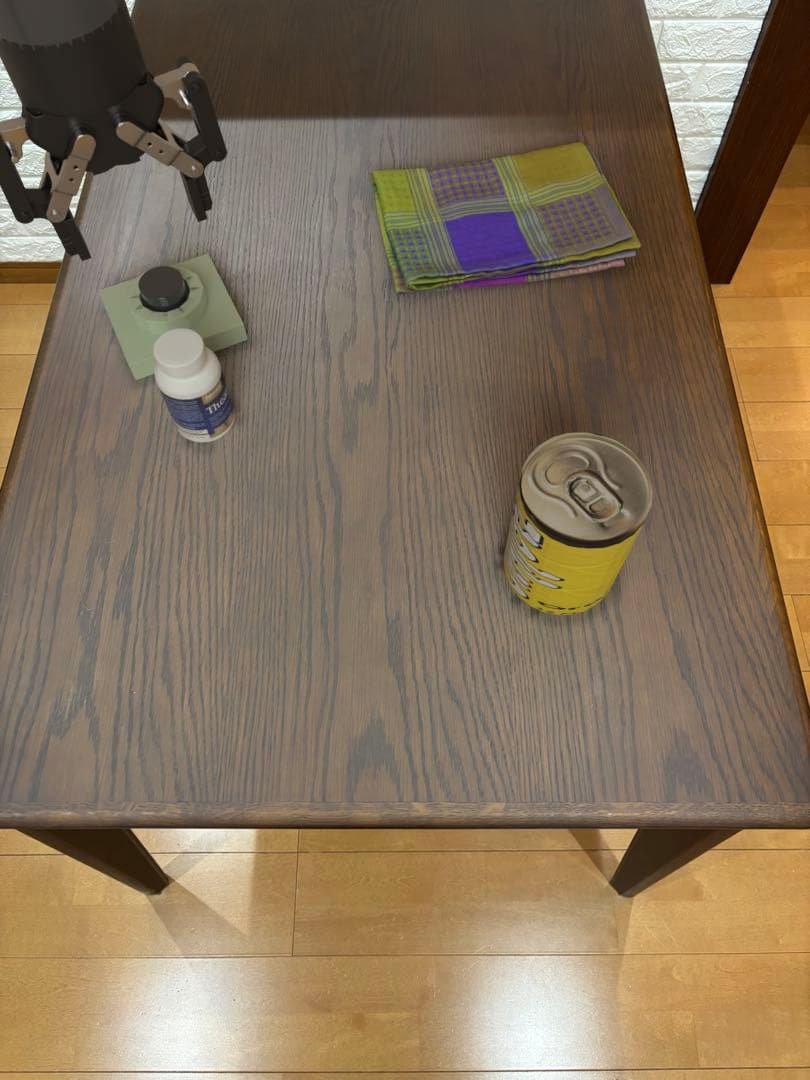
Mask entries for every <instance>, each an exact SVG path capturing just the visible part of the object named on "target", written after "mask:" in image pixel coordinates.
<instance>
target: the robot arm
mask: <svg viewBox="0 0 810 1080" xmlns="http://www.w3.org/2000/svg"><path fill="white" fill-rule="evenodd" d="M0 61H1V63H2V64H3V67H4V68H5V71H6V73H7V75H8V77H9V80H10V82H11V84H12V86H13V88H14V90H15V92H16V94H17V97H18V99H19V100H20V103H21V115H20V116H18V117H13V118H10V119H5V120H1V121H0V189H1V191H2V192H3V195H4V197H5V199H6V202H7V203H8V206H9V208H10V210H11V212H12V214H13V217H14V219H15V220H16V221H17V222H18V223H19V224H23V225H28V224H30V223H32V222H33V221H34V220H35V219H44V220H46V221H48V222H50V224H51V225H52V227H53V229H54V231H55V232H56V235H57V237H58V239H59V240H60V242H61V245H62V247H63V249H64V251H65V253H67V254H68V255H69V256H70V257H74V256H77V255H78V257H79V258H80V261H81V262H84V261H87V260H90V259H92V255H91V253H90V250H89V247H88V245H87V243H86V240H85V238H84V236H83V234H82V232H81V229H80V227H79V225H78V223H77V221H76V219H75V217H74V215H73V212H72V211H71V208H70V205H71V203H72V200H73V198H74V197H77V195H78V193H79V190H80V187H81V185H82V182H83V179H84V176H85V174H86V173H92V175H93V177H94V176H98V175H102V174H103V173H104V174H105V173H106V172H108V171H110V170H111V169H114V168H115V167H117V166H129V165H132V164H136V163H139V162H141V158H140V157H142V156H143V155H144V154H147V155H148V156H150V157H152V158H153V159H155V160H157V161H158V162H160V163H161V164H164V165H165V166H166V167H170V166H171V167H173V168H175V169H176V170H178V171H179V175H180V179H181V181H182V185H183V188H184V191H185V194H186V197H187V200H188V203H189V206H190V209H191V210H192V212H193V215H194V217H195V218H196V219H195V220H197V223H201V222H203V221H206V220H208V215H207V212H208V211H211V210H212V208H213V200H212V196H211V193H210V188H209V185H208V182H207V177H206V175H205V174H206V173H205V171H206V169H207V167H208V166H209V164H211V163H212V162H215V163H220V162H223V161H224V160H225V159H226V157H227V155H228V150H227V146H226V143H225V140H224V136H223V133H222V131H221V127H220V124H219V121H218V118H217V115H216V112H215V108H214V104H213V103H212V99H211V96H210V93H209V90H208V86H207V84H206V81H205V80H204V77H203V76H202V74H201V72H200V70H199V69H198V67H197V65H196V63H195V62H194V60H193V59H192V57H190V56H188V55H181V56H179V57H178V58H177V59H176V60H175V64H174V65H175V66H174V68H175V69H172V70H170V71H167V72H165V73H161V74H158V75H156V76H154V75H153V74H152V73H151V72H150V71H149V70H148V69H147V65H146V62H145V59H144V56H143V53H142V49H141V47H140V43H139V40H138V37H137V33H136V30H135V28H134V24H133V21H132V18H131V14H130V12H129V8H128V5H127V1H126V0H0ZM165 99H171V100H173V101H174V102H175V103H176V104H177V106H178V107H179V108H180V109H182V110H187V111H190V114H191V117H192V120H193V124H194V126H195V128H196V132H197V135H195V136H194V137H193V138H191V139H189V140H188V139H186V138H185V137H184V136H182V135H181V134H179V133H178V132H176V131H174V130H173V129H171V128H170V127H169V125H168V124H167V123H166V122H165V121H163V120H162V119H161V118H160V117H161V114H162V111H163V109H164V106H165ZM27 141H30V142H31V143H33V144H34V145H35V146H37V147H39V148H40V149H42V150H44V151H45V154H44V169H43V172H42V175H41V178H40V182H39V185H38V187H37V188H35V187H33V188H32V187H31V188H29V187H27V188H25V184H24V182H23V179H22V178H21V175H20V173H19V171H18V168H17V166H16V165H17V164H18V163H19V162H20V160H21V159H22V158H23V156H24V151H23V145H25V143H26V142H27Z"/></svg>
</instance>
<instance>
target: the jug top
mask: <svg viewBox="0 0 810 1080" xmlns="http://www.w3.org/2000/svg"><path fill="white" fill-rule="evenodd" d="M160 266H169V267H173V268H175V269H177V270H178V271H179V272H180V273H181V274H182V277H183V280H184V283H185V285H186V288H187V298H186V300H185V302H184V303H183V304H182V305H181V306H180V307H179V308H177V309H174V310H171V311H168V312H157V311H153V310H151V309H150V308H148V307H147V306H146V304H145V302H144V300H143V297H142V295H141V293H140V290H139V287H138V283H139V280H140V278H141V276H142V275H143V274H144V273H145V272H146V271H148V270H149V269H146V270H144V271H143V272H142V273H140V275H138V276H137V277H134V278H130V279H128V280H126V281H122V282H119V283H116V284H114V285H111V286H108V287H104V288H101V289H98V294H99V297H100V298H101V301H102V305H103V306H104V308H105V311H106V313H107V316H108V319H109V321H110V323H111V326H112V328H113V331H114V333H115V336H116V338H117V340H118V343H119V345H120V349H121V351H122V354H123V356H124V358H125V360H126V363H127V365H128V368H129V370H130V371H131V373H132V375H133V378H134V380H135V381H138V380H141V379H144V378H146V377H147V378H148V377H149V376H152V375H155V366H156V363H157V362H156V359H155V356H154V352H153V349H154V344H155V342H156V341H157V339H158V338H159V337H160V336H161V335H162V334H164V333H165V332H167V331H169V330H172V329H178V328H186V329H190V330H193V331H195V332H196V333H198V334H199V335H200V336H201V338H202V340H203V342H204V345H205V347H207V348H209V349H210V350H211V351H213V352H214V353H216V352H218V351H221V350H224V349H226V348H227V349H228V348H229V347H232V346H234V345H237V344H240V343H243V342H245V341H248V339H249V338H248V335H247V334H248V333H247V330H246V328H245V327H246V326H245V324H244V321H243V320H242V317H241V315H240V313H239V312H238V309H237V307H236V306H235V304H234V301H233V300H232V298H231V296H230V293H229V291H228V290H227V288H226V285H225V284H224V281H223V280H222V277H221V276H220V274H219V272H218V270H217V268H216V265H215V264H214V261H213V260H212V258H211V256H210V254H209V253H204V254H202V255H199V256H196V257H193V258H190V259H187V260H183V261H182V262H178V263H174V264H172V265H169V264H167V265H166V264H162V265H160Z"/></svg>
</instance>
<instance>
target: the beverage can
mask: <svg viewBox="0 0 810 1080" xmlns="http://www.w3.org/2000/svg"><path fill="white" fill-rule="evenodd" d="M653 493H654V489H653V485H652V481H651V476H650V474H649V472H648V471H647V468H646V467H645V465H644V463H643V462H642V460H641V459H640V458H639V457H638V456H637V455H636V454H635V453H634V452H633V451H632V449H630V448H628V447H626V446H625V445H624V444H622V443H621V442H619V441H618V440H616V439H613V438H610V437H608V436H605V435H603V434H597V433H593V432H592V433H591V432H585V431H579V432H566V433H563V434H560V435H556V436H552V437H551V438H549V439H547V440H546V441H544V442H542V443H540V444H539V445H538V446H536V448H535V449H534V450H533V451H532V452H530V454H528V456H527V458H526V459H525V462H524V464H523V465H522V467H521V470H520V476H519V480H518V485H517V490H516V494H515V500H514V503H513V509H512V513H511V517H510V523H509V528H508V533H507V537H506V543H505V546H504V547H505V548H504V553H503V559H502V562H503V563H502V564H503V569H504V570H503V571H504V575H505V577H506V580H507V582H508V585H509V587H510V588H511V589H512V591H513V592H514V593H515V594H516V595H517V597H518V598H519V599H521V600H522V601H523V602H524V603H526V604H527V605H528V606H529V607H531V608H533V609H536V610H538V611H540V612H543V613H546V614H550V615H556V616H571V615H572V616H573V615H577V614H581V613H584V612H587V611H590V609H592V608H594V607H595V606H597V605H598V604H600V603H601V602H602V601H603V600H604V598H605V597H606V596H607V595H608V594H609V592H610V591H611V589H612V586H613V584H614V583H615V581H616V579H617V577H618V575H619V573H620V571H621V569H622V567H623V565H624V563H625V561H626V559H627V557H628V555H629V553H630V551H631V549H632V547H633V545H634V543H635V542H636V539H637V537H638V535H639V534H640V532H641V530H642V528H643V526H644V524H645V522H646V520H647V518H648V515H649V513H650V511H651V508H652V506H653V495H654V494H653Z"/></svg>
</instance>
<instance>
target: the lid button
mask: <svg viewBox="0 0 810 1080" xmlns="http://www.w3.org/2000/svg"><path fill="white" fill-rule="evenodd" d="M147 270H148V271H147ZM147 270H145V271H146V272H145V273H144V274H143V275H142V276H141V278H140V280H139V283H138V287H139V290H140V293H141V295H142V297H143V300H144V302H145V304H146V306H147V307H148V308H150V309H151V310H153V311H157V312H168V311H171V310H174V309H177V308H179V307H180V306H181V305H182V304H183V303H184V302H185V300H186V298H187V288H186V285H185V283H184V280H183V277H182V274H181V273H180V272H179V271H178V270H177V269H175V268H173V267H169V266H161V265H158V266H154V267H152V268H150V269H147Z"/></svg>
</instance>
